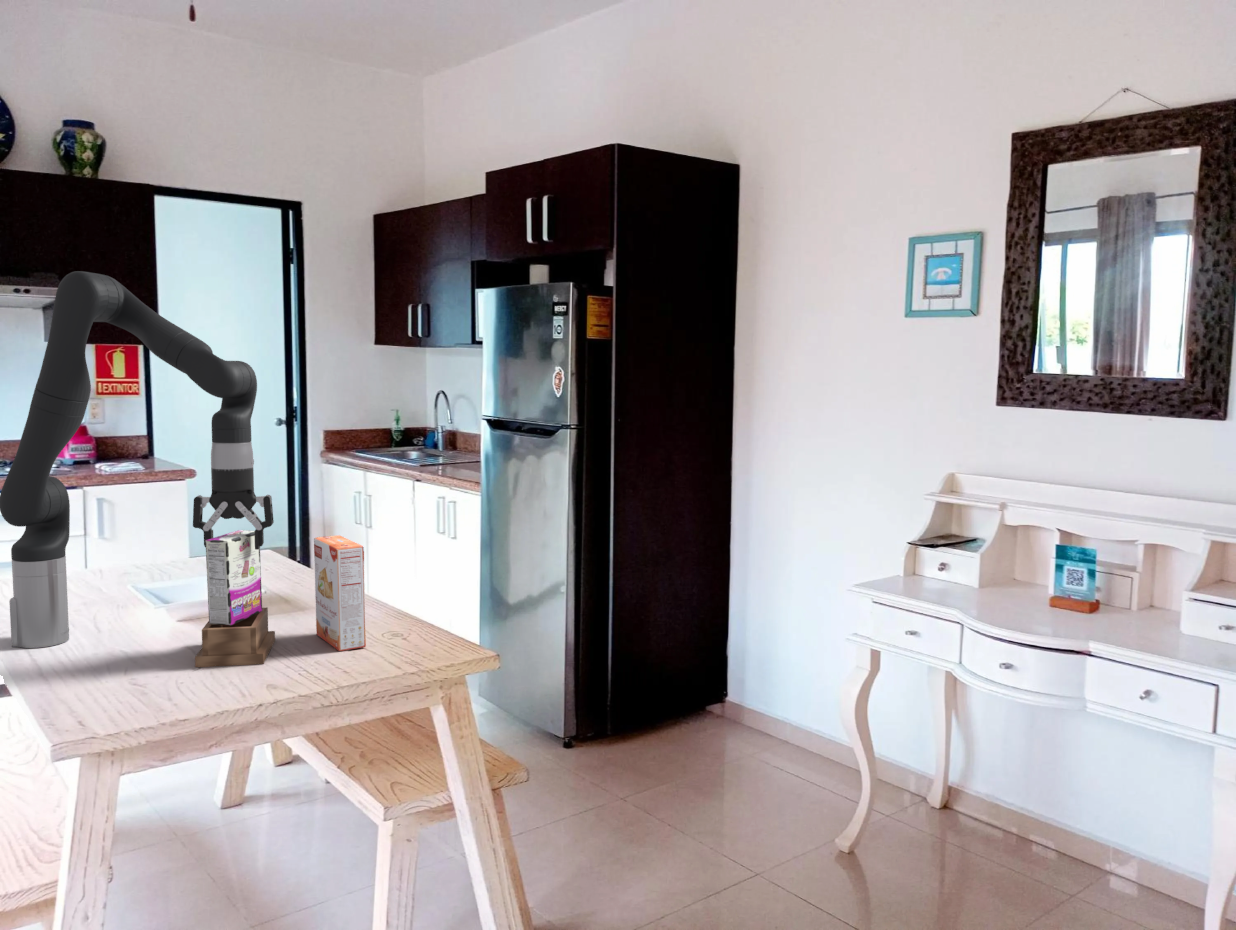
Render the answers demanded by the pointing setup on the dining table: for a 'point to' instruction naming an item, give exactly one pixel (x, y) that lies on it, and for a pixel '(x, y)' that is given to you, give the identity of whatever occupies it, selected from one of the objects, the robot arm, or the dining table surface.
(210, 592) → the candy bar box
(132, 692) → the dining table surface
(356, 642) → the cracker box
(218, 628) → the walnut stand
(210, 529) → the robot arm
